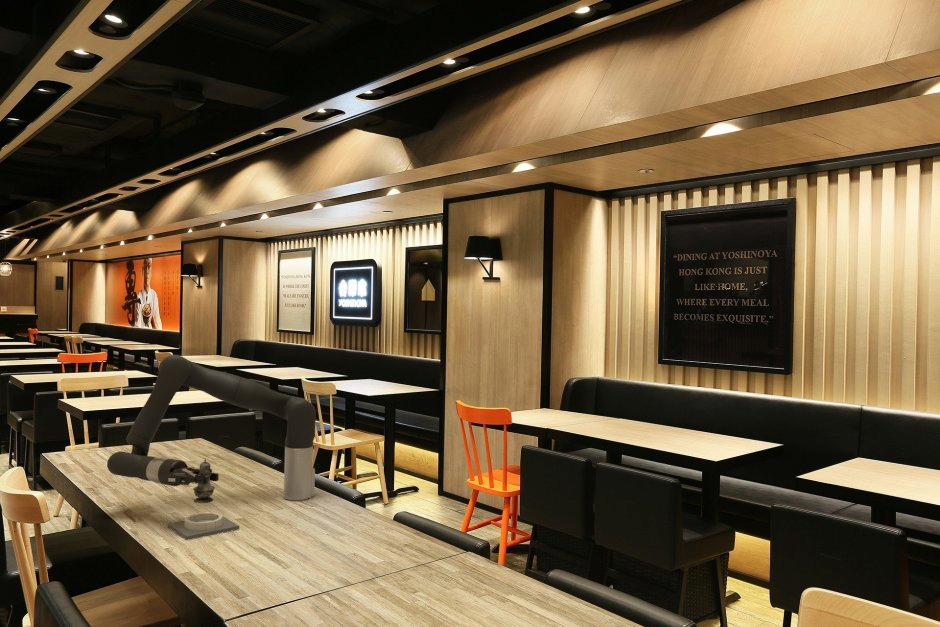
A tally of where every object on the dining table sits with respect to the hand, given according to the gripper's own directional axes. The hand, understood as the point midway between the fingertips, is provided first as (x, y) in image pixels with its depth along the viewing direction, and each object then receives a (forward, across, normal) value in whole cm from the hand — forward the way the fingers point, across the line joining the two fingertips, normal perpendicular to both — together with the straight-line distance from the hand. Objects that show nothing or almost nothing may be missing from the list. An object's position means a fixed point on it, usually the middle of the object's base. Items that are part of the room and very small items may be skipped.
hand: (212, 479), depth 195 cm
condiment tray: (-3, 0, +14) cm, 15 cm away
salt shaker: (-3, 0, +7) cm, 7 cm away
